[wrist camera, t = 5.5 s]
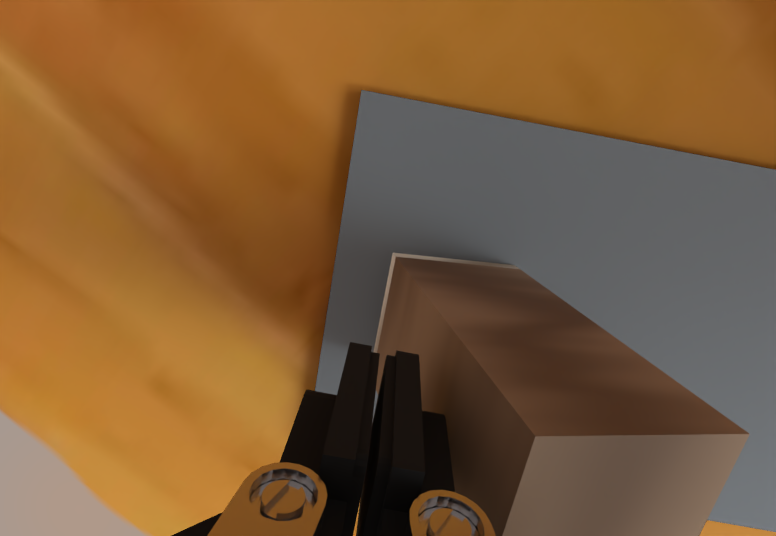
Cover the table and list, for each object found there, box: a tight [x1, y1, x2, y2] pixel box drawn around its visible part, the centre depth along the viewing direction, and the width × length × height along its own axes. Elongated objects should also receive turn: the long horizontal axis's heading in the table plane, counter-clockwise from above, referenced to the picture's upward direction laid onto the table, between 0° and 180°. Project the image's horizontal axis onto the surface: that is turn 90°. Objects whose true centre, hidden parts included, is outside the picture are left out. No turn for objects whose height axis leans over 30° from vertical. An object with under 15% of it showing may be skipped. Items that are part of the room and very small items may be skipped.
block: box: [374, 253, 750, 536], centre depth 13 cm, size 4×4×9 cm
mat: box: [315, 90, 776, 532], centre depth 18 cm, size 22×14×1 cm, turn 80°
